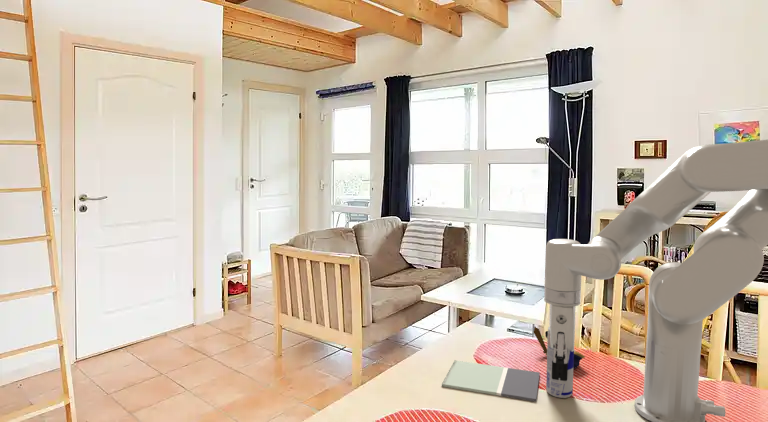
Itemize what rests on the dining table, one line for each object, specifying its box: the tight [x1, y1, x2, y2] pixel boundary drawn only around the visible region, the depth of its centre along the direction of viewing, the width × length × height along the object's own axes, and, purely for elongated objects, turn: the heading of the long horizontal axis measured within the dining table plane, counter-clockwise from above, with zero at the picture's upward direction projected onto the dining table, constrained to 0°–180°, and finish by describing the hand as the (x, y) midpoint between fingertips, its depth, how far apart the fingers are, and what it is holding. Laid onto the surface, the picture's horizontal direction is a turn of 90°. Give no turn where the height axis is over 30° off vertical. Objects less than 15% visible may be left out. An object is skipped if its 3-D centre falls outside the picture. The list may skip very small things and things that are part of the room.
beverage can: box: [545, 326, 574, 399], centre depth 109 cm, size 6×6×15 cm
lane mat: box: [441, 359, 541, 402], centre depth 117 cm, size 21×14×1 cm, turn 70°
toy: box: [533, 326, 586, 370], centre depth 129 cm, size 9×6×15 cm
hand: (559, 373), depth 110 cm, fingers closed on beverage can, 4 cm apart
